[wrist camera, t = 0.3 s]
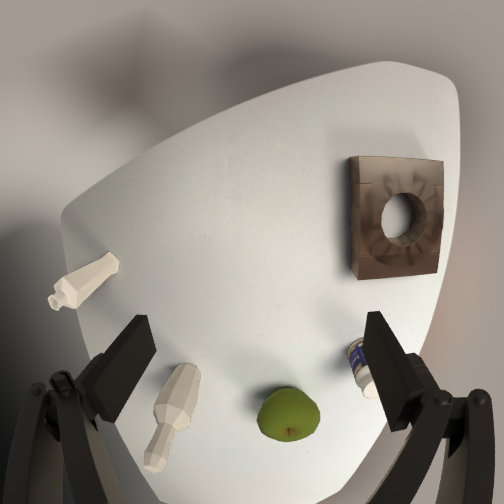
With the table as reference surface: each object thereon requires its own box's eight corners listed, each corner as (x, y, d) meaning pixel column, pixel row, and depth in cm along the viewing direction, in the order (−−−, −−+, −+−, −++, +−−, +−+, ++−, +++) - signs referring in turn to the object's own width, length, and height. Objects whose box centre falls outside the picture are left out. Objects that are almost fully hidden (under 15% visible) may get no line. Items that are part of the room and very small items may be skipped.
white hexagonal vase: (120, 250, 40) (62, 288, 26) (122, 276, 42) (69, 321, 27) (98, 247, 41) (38, 282, 26) (100, 272, 42) (45, 313, 28)
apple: (324, 379, 45) (331, 420, 36) (306, 414, 48) (309, 452, 39) (265, 371, 45) (263, 413, 36) (254, 407, 48) (250, 446, 39)
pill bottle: (345, 341, 42) (359, 381, 33) (377, 332, 41) (397, 369, 32) (348, 365, 44) (360, 405, 34) (378, 357, 43) (395, 395, 33)
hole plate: (348, 156, 34) (357, 155, 30) (430, 160, 33) (444, 161, 29) (349, 269, 38) (356, 280, 35) (425, 264, 37) (437, 273, 33)
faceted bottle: (207, 385, 47) (178, 483, 26) (175, 382, 48) (137, 473, 27) (203, 361, 45) (167, 464, 25) (169, 357, 46) (122, 452, 25)
